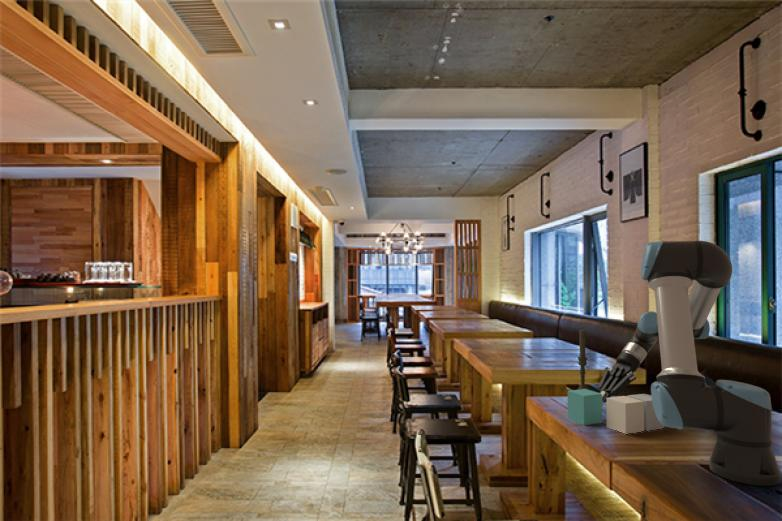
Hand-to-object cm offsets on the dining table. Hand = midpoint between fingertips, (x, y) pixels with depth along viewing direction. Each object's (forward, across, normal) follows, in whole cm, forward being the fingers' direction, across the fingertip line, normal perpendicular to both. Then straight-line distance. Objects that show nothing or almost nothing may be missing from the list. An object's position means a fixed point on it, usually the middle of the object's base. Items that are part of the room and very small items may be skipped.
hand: (596, 407), depth 180 cm
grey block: (-3, -13, -9) cm, 16 cm away
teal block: (+7, 0, +1) cm, 7 cm away
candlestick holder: (-4, +17, -10) cm, 20 cm away
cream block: (+3, -13, -3) cm, 14 cm away
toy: (-20, -17, -26) cm, 37 cm away
